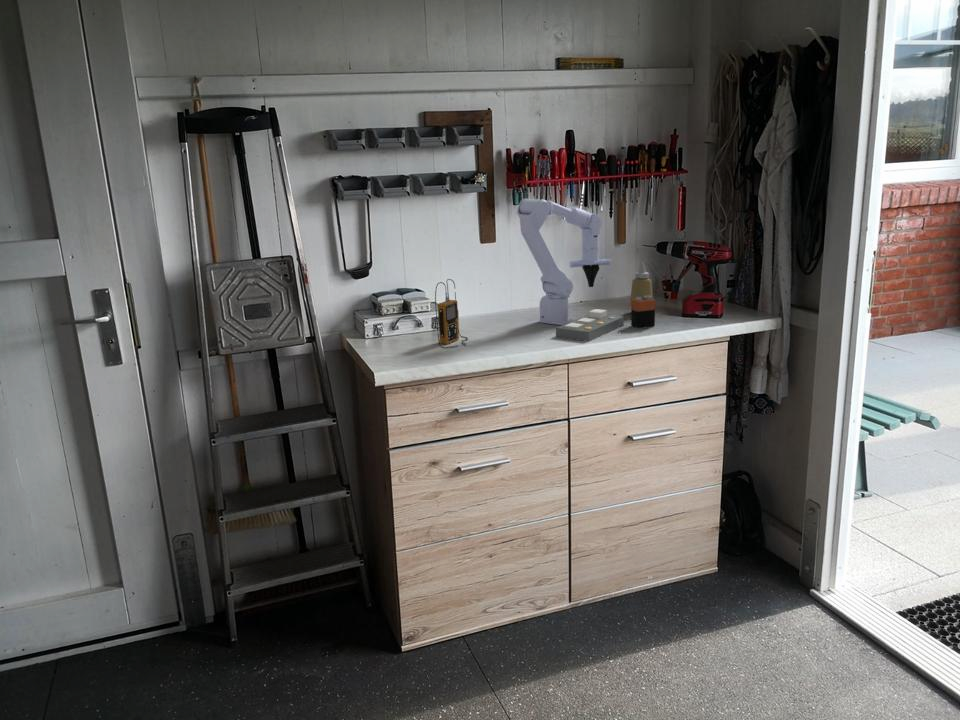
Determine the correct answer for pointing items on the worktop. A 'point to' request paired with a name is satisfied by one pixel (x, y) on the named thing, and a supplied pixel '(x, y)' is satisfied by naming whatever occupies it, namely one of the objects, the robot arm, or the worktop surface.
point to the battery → (643, 312)
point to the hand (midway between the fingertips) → (590, 286)
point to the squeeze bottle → (641, 284)
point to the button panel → (590, 328)
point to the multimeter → (448, 320)
